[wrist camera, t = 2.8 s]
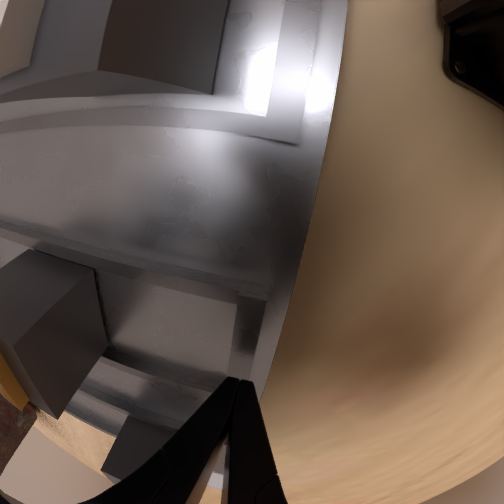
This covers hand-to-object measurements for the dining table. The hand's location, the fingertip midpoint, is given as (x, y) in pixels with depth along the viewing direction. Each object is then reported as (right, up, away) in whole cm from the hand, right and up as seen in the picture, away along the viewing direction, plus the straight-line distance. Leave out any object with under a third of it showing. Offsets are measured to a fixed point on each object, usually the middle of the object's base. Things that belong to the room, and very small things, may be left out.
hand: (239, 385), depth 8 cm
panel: (-7, +3, +4) cm, 9 cm away
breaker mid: (-8, +2, +2) cm, 8 cm away
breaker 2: (-5, -7, +6) cm, 11 cm away
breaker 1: (-2, +10, -3) cm, 11 cm away
